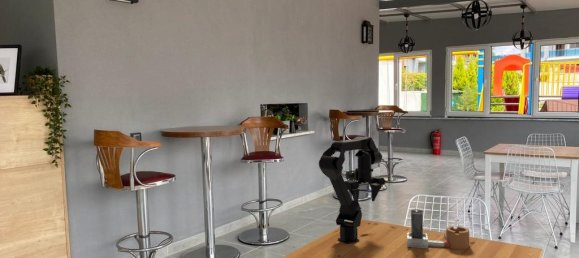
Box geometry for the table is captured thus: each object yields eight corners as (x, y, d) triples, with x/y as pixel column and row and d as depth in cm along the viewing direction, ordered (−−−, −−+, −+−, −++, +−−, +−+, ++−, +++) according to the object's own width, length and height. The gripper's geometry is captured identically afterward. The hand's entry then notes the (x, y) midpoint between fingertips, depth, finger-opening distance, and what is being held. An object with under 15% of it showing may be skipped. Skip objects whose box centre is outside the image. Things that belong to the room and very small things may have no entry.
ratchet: (407, 240, 182) (407, 232, 182) (453, 243, 178) (453, 235, 177) (407, 247, 175) (407, 238, 174) (455, 250, 170) (455, 241, 170)
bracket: (470, 251, 170) (470, 233, 170) (446, 249, 172) (447, 231, 172) (464, 236, 187) (465, 220, 187) (443, 235, 190) (443, 218, 189)
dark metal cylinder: (413, 240, 175) (412, 212, 174) (409, 236, 179) (409, 209, 178) (424, 240, 175) (424, 211, 174) (420, 236, 179) (420, 209, 179)
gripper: (368, 162, 203) (368, 196, 204) (335, 166, 193) (335, 202, 195) (386, 165, 193) (386, 201, 195) (351, 169, 184) (351, 207, 185)
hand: (364, 202), depth 192 cm, fingers open, 9 cm apart
